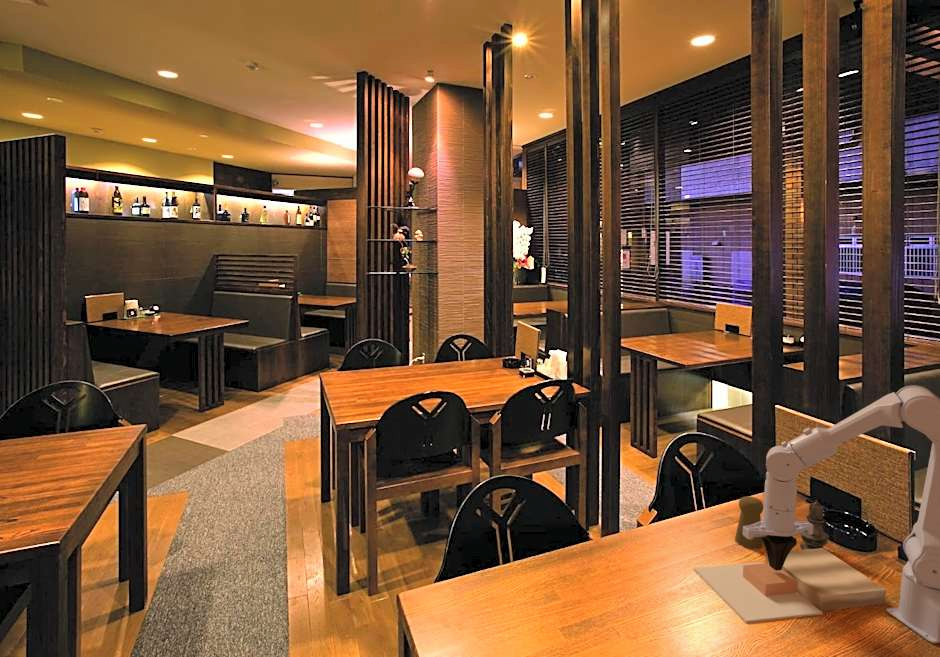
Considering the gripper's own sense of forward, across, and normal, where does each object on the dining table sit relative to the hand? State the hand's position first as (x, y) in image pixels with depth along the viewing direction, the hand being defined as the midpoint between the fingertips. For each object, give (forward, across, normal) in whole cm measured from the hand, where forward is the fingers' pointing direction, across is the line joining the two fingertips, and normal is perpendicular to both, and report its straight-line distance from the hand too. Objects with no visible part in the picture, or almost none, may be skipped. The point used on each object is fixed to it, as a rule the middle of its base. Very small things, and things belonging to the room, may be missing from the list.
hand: (775, 567), depth 115 cm
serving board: (+4, -10, +1) cm, 11 cm away
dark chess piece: (+4, -19, -12) cm, 23 cm away
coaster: (+2, +1, 0) cm, 3 cm away
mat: (+4, +5, +1) cm, 7 cm away
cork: (+4, -6, -17) cm, 19 cm away
